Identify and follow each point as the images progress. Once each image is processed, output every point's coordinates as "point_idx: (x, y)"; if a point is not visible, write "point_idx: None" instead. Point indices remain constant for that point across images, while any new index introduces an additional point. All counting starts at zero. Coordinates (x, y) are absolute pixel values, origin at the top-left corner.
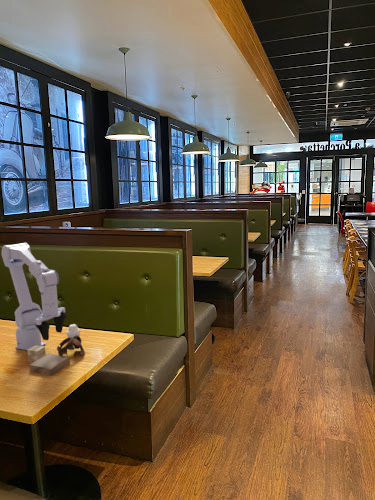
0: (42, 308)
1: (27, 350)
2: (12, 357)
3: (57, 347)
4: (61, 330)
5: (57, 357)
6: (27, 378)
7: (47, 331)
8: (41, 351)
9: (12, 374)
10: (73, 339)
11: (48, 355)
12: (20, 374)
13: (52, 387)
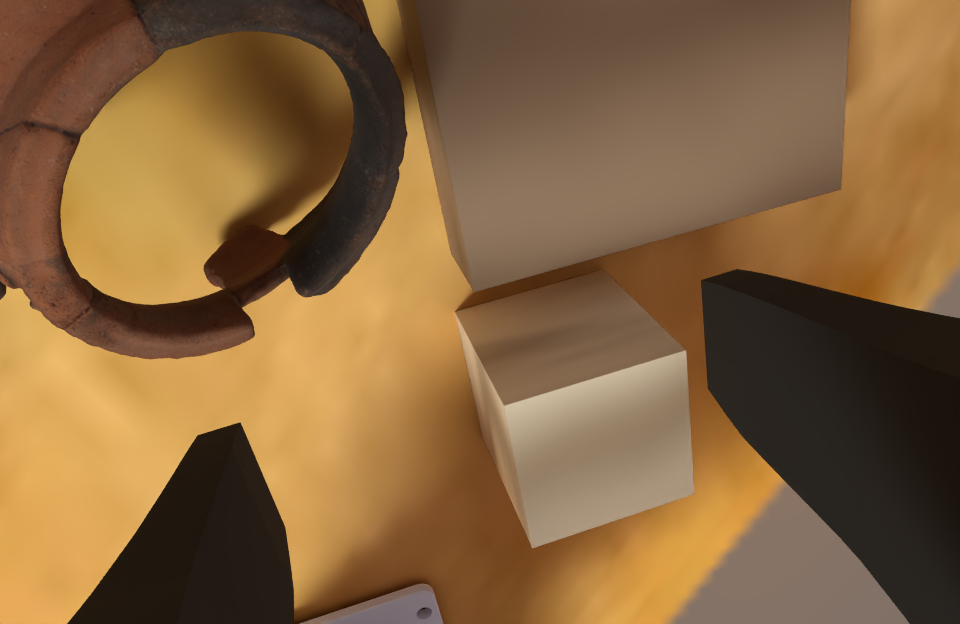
0: None
1: (688, 485)
2: (624, 592)
3: (334, 277)
4: (211, 448)
5: (507, 20)
6: (925, 19)
7: (951, 336)
8: (569, 355)
9: (892, 259)
10: (3, 104)
11: (530, 220)
12: (871, 186)
13: None
